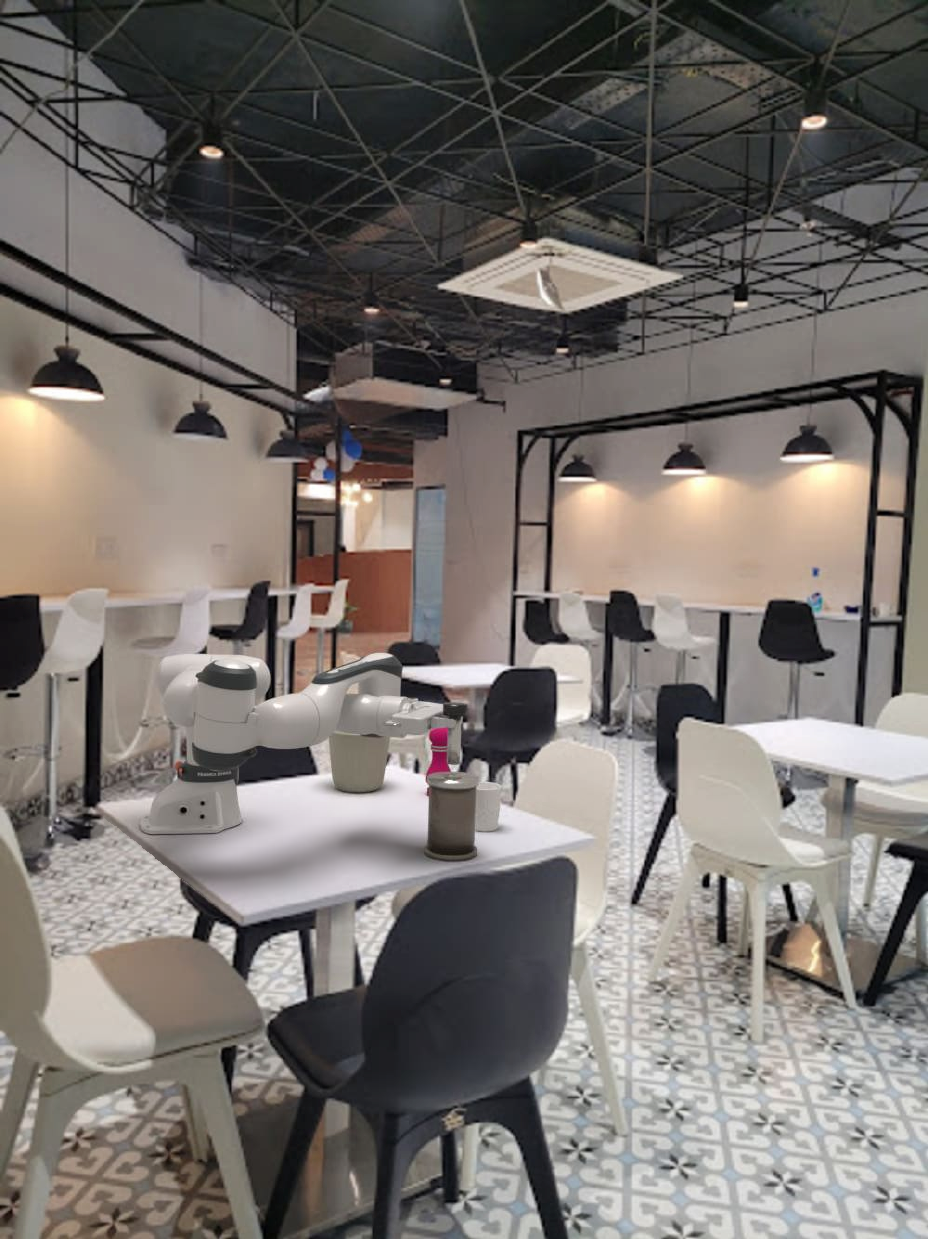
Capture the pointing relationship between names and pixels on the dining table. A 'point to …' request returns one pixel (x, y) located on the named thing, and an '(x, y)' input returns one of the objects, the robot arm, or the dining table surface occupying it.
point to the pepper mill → (438, 752)
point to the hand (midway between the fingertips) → (458, 721)
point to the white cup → (487, 806)
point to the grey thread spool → (451, 816)
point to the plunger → (454, 730)
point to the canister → (358, 761)
